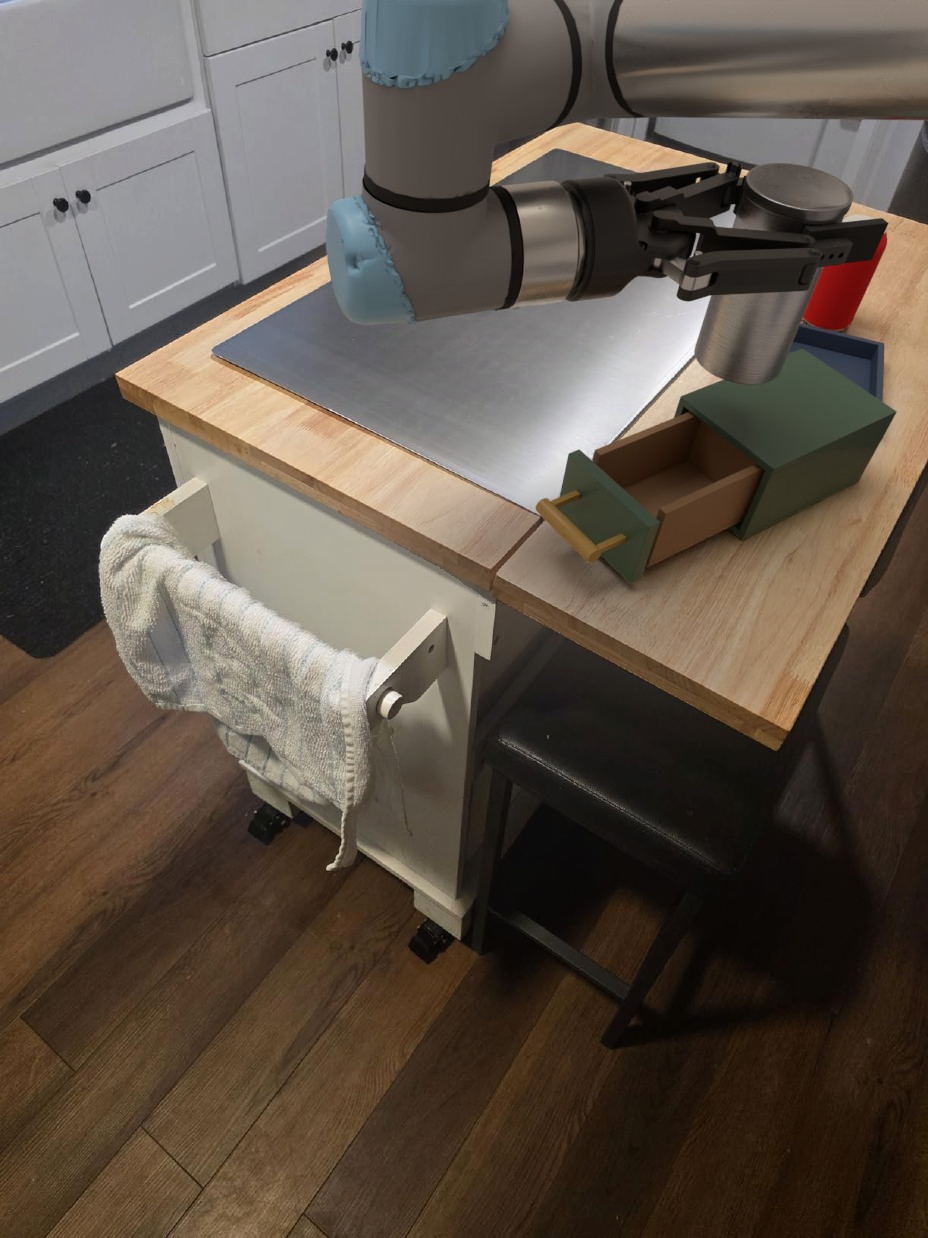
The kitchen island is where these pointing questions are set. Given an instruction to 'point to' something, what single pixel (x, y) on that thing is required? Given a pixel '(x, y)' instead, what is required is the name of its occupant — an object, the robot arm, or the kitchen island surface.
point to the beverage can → (842, 289)
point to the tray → (845, 355)
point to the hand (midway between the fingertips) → (843, 213)
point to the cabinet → (794, 434)
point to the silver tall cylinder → (768, 322)
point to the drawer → (652, 494)
